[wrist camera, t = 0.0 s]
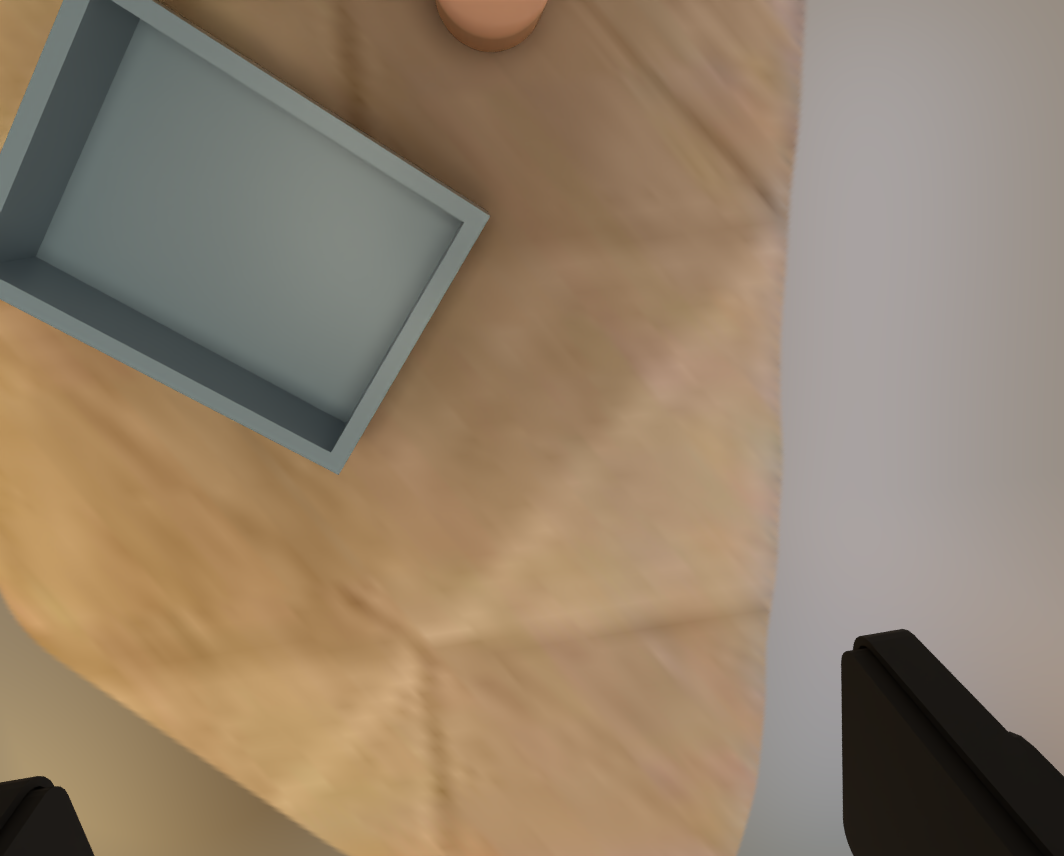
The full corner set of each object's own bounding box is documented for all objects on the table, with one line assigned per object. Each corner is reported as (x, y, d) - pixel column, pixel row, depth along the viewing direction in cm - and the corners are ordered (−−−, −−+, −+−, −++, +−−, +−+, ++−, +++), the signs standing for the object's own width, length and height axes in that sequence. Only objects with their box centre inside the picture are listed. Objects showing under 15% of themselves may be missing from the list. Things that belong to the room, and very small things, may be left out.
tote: (137, -13, 33) (81, -45, 28) (487, 211, 37) (490, 216, 32) (19, 261, 36) (-50, 273, 31) (354, 439, 40) (338, 474, 35)
